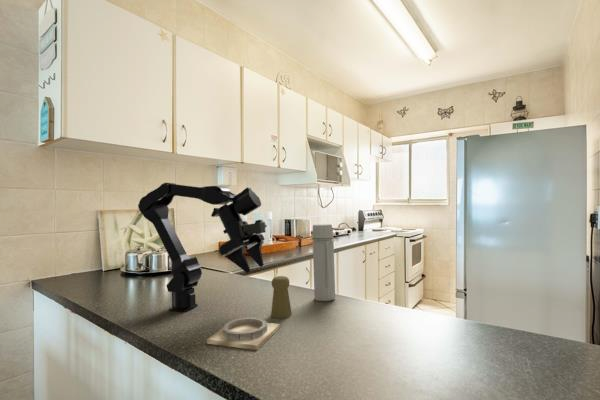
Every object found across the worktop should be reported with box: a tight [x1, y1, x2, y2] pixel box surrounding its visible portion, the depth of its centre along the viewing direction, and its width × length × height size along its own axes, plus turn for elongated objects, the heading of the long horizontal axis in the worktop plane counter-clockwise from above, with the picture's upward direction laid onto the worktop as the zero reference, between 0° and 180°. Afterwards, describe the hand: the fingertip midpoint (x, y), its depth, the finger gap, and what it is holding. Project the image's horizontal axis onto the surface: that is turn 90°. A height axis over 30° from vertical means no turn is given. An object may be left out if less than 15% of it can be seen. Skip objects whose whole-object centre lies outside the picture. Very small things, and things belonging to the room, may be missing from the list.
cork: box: [270, 275, 293, 319], centre depth 91 cm, size 6×6×11 cm
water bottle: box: [311, 223, 336, 302], centre depth 104 cm, size 9×8×25 cm
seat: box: [206, 316, 281, 351], centre depth 76 cm, size 13×13×2 cm
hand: (255, 269), depth 92 cm, fingers open, 9 cm apart
